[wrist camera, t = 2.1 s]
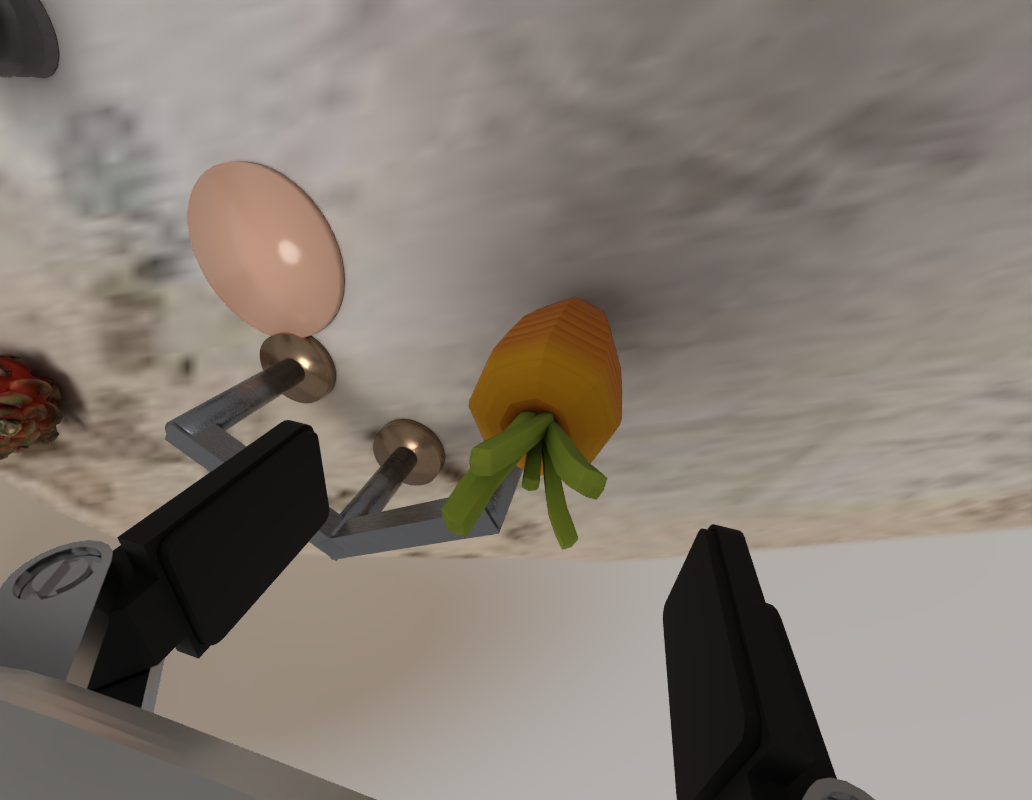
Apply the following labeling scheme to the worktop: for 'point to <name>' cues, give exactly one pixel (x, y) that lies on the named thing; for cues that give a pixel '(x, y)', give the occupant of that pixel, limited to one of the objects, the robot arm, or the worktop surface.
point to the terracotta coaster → (265, 249)
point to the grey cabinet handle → (397, 449)
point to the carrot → (543, 413)
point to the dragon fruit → (26, 407)
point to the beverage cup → (26, 40)
